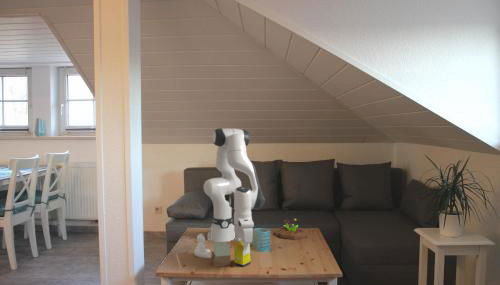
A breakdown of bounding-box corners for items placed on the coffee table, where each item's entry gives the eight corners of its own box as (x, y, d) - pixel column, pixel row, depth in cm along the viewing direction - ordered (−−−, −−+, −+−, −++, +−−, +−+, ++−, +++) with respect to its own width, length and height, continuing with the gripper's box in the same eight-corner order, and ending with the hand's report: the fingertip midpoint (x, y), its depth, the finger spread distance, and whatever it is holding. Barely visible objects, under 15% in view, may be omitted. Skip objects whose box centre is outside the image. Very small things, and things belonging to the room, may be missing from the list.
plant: (298, 241, 219) (298, 223, 219) (270, 235, 230) (270, 218, 229) (311, 233, 236) (312, 216, 235) (285, 228, 247) (285, 212, 246)
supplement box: (241, 260, 185) (241, 239, 185) (250, 263, 181) (250, 241, 181) (234, 264, 181) (233, 242, 180) (243, 266, 177) (242, 244, 177)
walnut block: (211, 261, 185) (211, 251, 185) (226, 259, 187) (226, 250, 187) (214, 267, 177) (214, 257, 177) (230, 265, 179) (230, 255, 179)
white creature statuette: (210, 258, 188) (210, 236, 187) (193, 259, 187) (194, 236, 186) (210, 252, 197) (210, 230, 197) (194, 253, 196) (194, 231, 196)
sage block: (213, 252, 184) (213, 242, 184) (226, 250, 186) (226, 241, 186) (215, 256, 177) (215, 246, 177) (229, 255, 179) (229, 245, 179)
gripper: (231, 215, 189) (231, 241, 190) (242, 225, 170) (241, 254, 170) (242, 214, 191) (242, 240, 192) (254, 224, 172) (254, 252, 172)
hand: (242, 246), depth 181 cm, fingers open, 8 cm apart
